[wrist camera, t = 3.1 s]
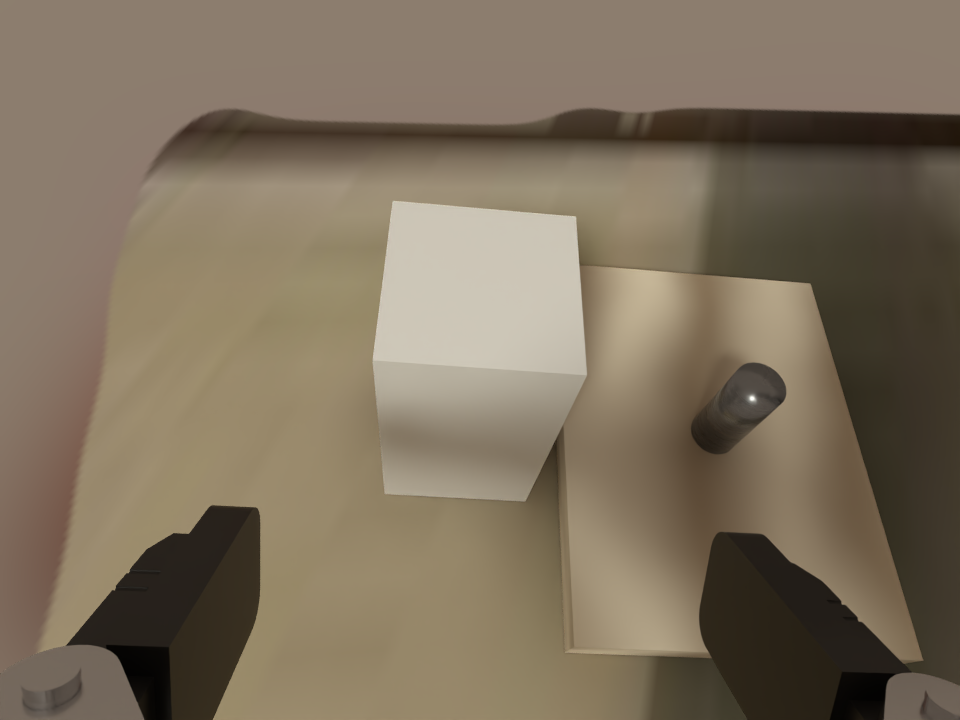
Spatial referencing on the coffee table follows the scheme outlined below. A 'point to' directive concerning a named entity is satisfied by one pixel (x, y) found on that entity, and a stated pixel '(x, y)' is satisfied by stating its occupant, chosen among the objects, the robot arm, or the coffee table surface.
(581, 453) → the stub plate
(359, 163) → the coffee table surface
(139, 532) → the coffee table surface
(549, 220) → the block
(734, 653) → the robot arm
